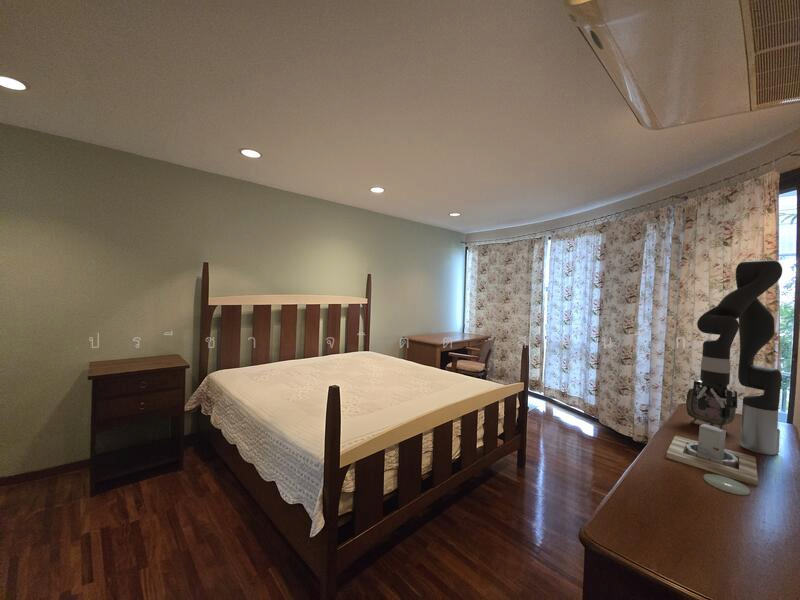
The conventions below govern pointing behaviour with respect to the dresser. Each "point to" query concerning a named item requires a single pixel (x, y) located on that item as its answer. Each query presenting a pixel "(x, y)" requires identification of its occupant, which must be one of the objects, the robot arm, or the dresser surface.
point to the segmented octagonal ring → (728, 458)
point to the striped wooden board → (744, 473)
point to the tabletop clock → (707, 410)
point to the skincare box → (711, 441)
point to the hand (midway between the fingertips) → (712, 413)
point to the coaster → (726, 484)
